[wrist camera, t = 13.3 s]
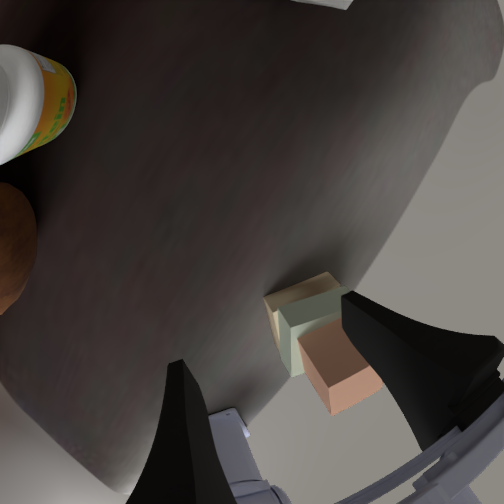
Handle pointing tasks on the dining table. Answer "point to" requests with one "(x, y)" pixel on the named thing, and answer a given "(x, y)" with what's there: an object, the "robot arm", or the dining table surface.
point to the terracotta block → (337, 368)
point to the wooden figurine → (15, 243)
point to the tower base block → (296, 297)
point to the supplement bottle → (32, 101)
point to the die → (329, 3)
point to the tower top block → (305, 323)
